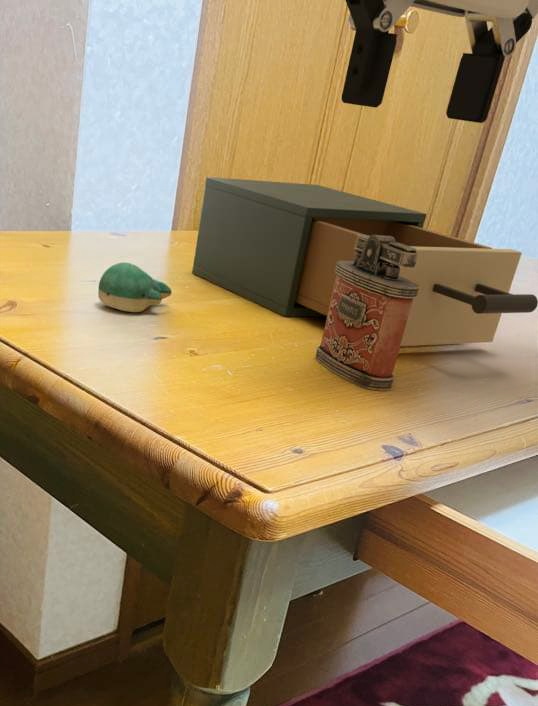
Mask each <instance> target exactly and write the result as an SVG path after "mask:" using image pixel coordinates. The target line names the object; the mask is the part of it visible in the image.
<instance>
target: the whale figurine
mask: <svg viewBox="0 0 538 706" xmlns="http://www.w3.org/2000/svg"><path fill="white" fill-rule="evenodd" d="M97 293H98V300H99V301H100V302H101V303H102V304H103V305H104V306H107V307H110V308H112V309H116V310H119V311H122V312H127V313H128V312H129V313H140V312H142V311H144V310H146V309H147V308H148V307H149V306H157V305H159V304H161V302H162V301H163V299H167V298H169V297H170V296H171V295H172V289H171V287H169V286H168V285H167V284H166V283H164V282H163V281H159V280H156V279H154V278H153V277H152V276H151V275H149V274H148V273H147V272H146V271H145V270H143V269H141V268H140V267H138V266H137V265H135V264H134V263H131V262H118V263H115V264H113V265H111V266H110V267H108V268H107V269H106V270H105V271H104V272H103V273H102V275H101V277H100V279H99V282H98V291H97Z"/></svg>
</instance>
